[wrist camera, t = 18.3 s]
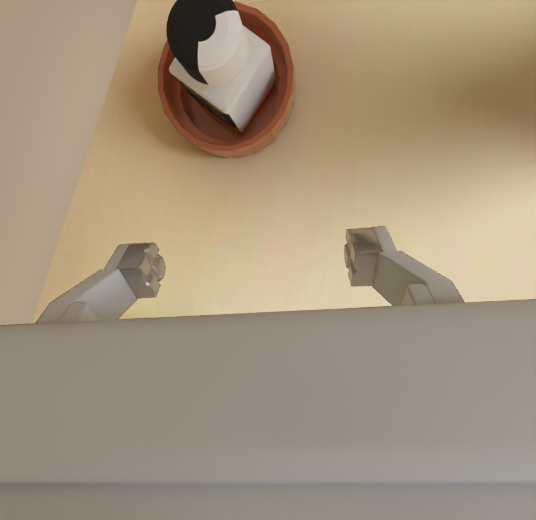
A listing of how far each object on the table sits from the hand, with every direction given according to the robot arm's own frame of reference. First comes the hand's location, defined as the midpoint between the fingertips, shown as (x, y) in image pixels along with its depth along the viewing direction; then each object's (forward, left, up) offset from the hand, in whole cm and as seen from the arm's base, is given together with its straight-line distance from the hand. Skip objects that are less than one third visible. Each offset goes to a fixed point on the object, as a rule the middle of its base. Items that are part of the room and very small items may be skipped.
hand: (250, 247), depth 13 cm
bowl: (-8, -14, -24) cm, 29 cm away
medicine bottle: (-9, -14, -24) cm, 29 cm away
